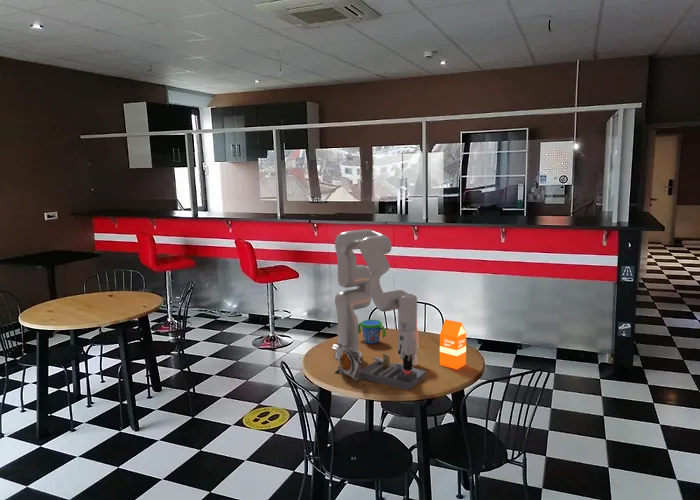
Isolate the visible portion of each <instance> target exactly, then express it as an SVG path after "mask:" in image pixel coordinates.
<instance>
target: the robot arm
mask: <svg viewBox="0 0 700 500" xmlns="http://www.w3.org/2000/svg"><path fill="white" fill-rule="evenodd" d="M334 241H335V242H334V246H335V247H334V248H335V251H336V257H337V282H338V285H339V286H340V287H341V288H344V289H347V290H342V291H340V292H338V293H336V295H335V298H334V304H335V307H336V309H335V310H336V316H337V343H339V344H346V345H347V346H349V347H351V348H352V349H353V350H354V352H358V353H359V359H360V360H361V359H362V357H363V353H362V352H361V351H359V350H360V349H359V333H358V325H359V319H358V316H357V315H356V313H355V311H356V310H360V309H365V308H367V307H369V306H370V304H371V302H372V301H373V303H374V306H375V308H377V310H379V311H381V312H383V313H384V312H385V313H386V312H390V311H394V310H397V330H398V332H397V333H398V335H397V354H399V359H402V363H403V369H405V370H409V371H410V370H411V369H412V368H413V366H412V359H413V353H415V352H416V351H417V350H418V351H419V347H420V345H419V344H420V340H419V341H418V332H419V330H418V298H417V296H416V295H415V294H412V293H408V292H406V291H405V290H402V289H397V290H392V291H385V292H384V290H383V288H382V286H381V283H380V279H381V277H382V276H384V275H385V274H386V273H387V272H388V271H389V270H390V268H391V267H390V263H389V261H388V259H387V257H386V255H388V254H390V252H391V251H392V242H391V240H390V238H389V237H388V236H386V235H385V234H382V233H380V232H379V231H378V232H377V231H375V230H372V229H369V228H368V229H359V230H356V229H355V230H347V231H344V232H340V233H339V234H338V235H336V238H335V240H334ZM355 250H359V251H360V253H361V256H362V257H363V260H364V262H365V264H366V265H364V264H358V265H357V256H356V254H355V252H354V251H355ZM353 287H356V288H353ZM348 288H351V289H348ZM331 350H332V351H336V353H335V354H334V358H335V359H336V360H338V357H339V354H340V351H341V350H340V349H339V348H338V346H337V345H336V344H333V345H332V347H331Z"/></svg>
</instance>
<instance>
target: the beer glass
mask: <svg viewBox="0 0 700 500" xmlns="http://www.w3.org/2000/svg"><path fill="white" fill-rule="evenodd" d="M419 332H420V331H418V341H419V342H420V333H419ZM418 353H419V349H418V350H417V351H416V352H415V353H413V359H412V367H417V366H418V365H419V362H418Z"/></svg>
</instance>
